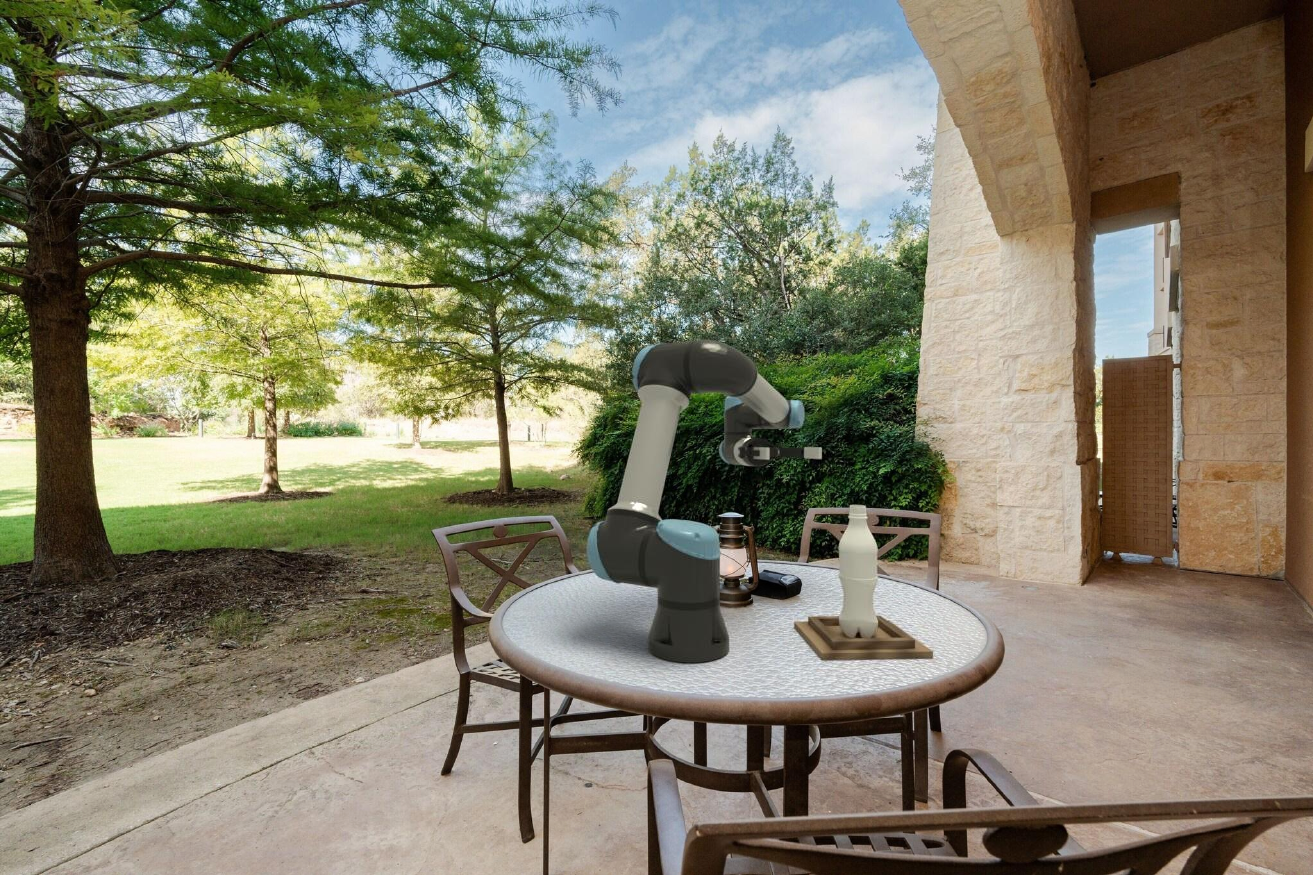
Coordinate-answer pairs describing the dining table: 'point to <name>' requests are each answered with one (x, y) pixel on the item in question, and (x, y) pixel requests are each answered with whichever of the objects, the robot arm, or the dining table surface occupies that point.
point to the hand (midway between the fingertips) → (794, 453)
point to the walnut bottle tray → (859, 641)
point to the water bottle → (858, 576)
